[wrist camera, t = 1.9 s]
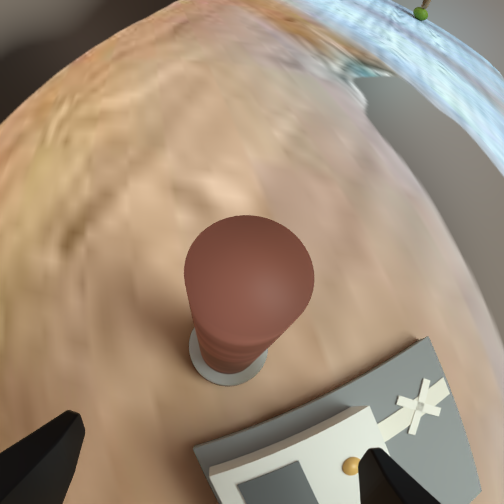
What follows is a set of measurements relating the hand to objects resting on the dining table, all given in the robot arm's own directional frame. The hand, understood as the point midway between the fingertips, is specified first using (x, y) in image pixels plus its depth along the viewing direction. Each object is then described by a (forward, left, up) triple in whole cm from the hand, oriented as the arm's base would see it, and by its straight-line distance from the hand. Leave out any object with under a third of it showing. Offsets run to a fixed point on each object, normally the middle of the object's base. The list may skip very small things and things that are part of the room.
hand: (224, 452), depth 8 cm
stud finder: (+3, -5, -10) cm, 12 cm away
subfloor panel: (+7, -9, -12) cm, 17 cm away
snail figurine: (+97, +78, -12) cm, 125 cm away
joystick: (+2, +5, -12) cm, 13 cm away
